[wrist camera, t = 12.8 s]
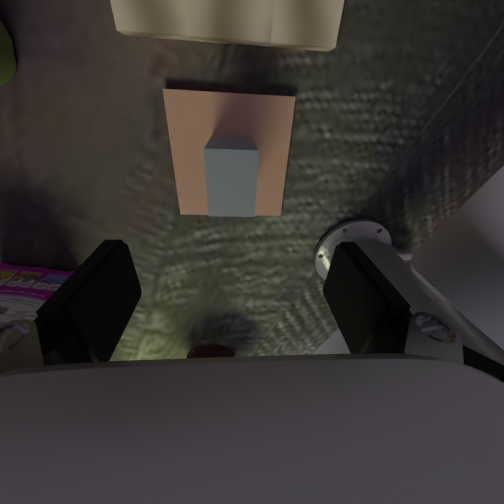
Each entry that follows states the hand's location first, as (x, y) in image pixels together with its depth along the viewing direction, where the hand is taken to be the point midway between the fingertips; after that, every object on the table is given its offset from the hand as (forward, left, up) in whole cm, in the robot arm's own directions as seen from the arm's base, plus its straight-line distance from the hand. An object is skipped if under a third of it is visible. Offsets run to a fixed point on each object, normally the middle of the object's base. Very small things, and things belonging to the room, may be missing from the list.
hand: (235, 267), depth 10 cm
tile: (0, 0, -22) cm, 22 cm away
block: (0, 0, -21) cm, 21 cm away
